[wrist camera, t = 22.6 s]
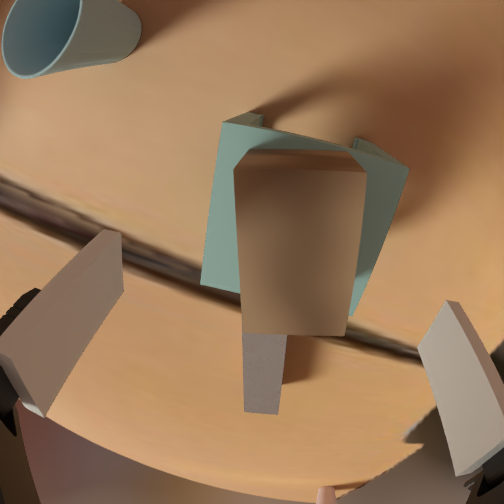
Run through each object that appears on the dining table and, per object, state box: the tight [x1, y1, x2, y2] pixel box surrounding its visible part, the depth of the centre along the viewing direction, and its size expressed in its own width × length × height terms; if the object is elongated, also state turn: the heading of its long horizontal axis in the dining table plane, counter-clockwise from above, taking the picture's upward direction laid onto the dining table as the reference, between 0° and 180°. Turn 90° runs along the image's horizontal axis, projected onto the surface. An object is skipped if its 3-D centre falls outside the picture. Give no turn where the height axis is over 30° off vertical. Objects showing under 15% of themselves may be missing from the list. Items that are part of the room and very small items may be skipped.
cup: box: [1, 0, 142, 79], centre depth 16 cm, size 8×8×10 cm
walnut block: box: [233, 149, 367, 336], centre depth 15 cm, size 5×8×4 cm, turn 2°
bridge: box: [200, 112, 409, 316], centre depth 21 cm, size 10×10×10 cm
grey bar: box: [242, 324, 287, 415], centre depth 30 cm, size 4×24×5 cm, turn 0°
